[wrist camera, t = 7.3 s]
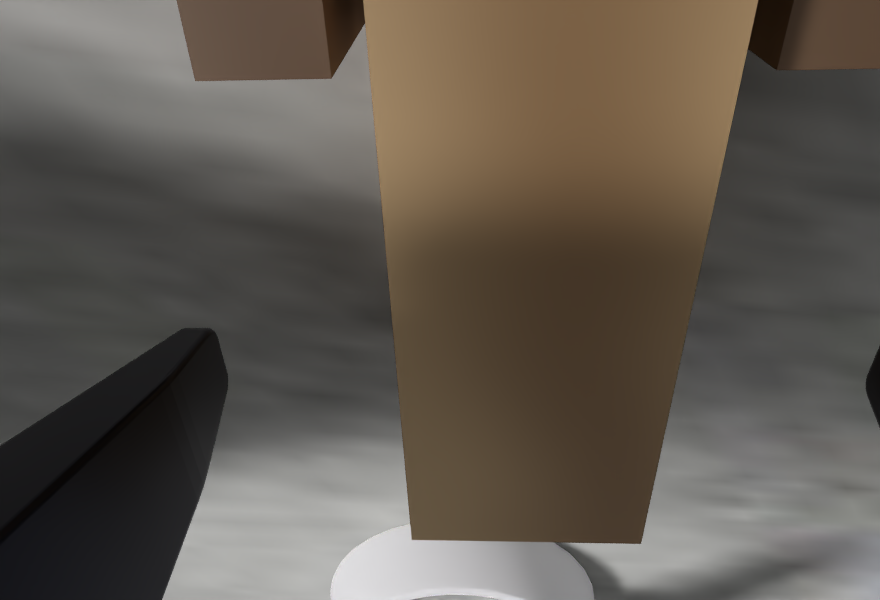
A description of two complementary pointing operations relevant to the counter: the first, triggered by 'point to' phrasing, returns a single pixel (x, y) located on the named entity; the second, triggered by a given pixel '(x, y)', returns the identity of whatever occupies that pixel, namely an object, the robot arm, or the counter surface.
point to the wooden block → (545, 246)
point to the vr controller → (458, 570)
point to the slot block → (342, 17)
